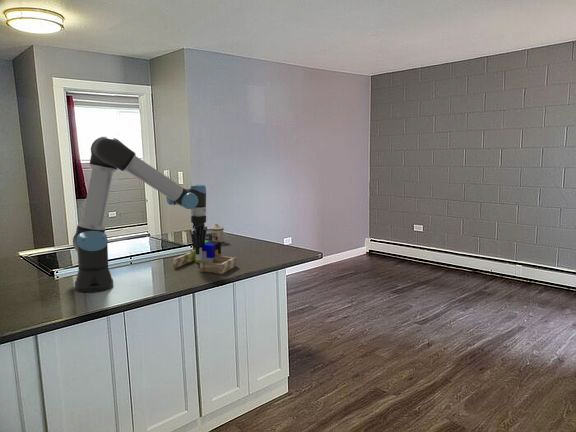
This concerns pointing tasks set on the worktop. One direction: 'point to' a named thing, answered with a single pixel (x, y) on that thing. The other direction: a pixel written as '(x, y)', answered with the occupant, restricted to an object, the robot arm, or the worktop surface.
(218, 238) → the teacup with lid
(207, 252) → the puzzle toy
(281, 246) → the worktop surface
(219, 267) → the beige low frame piece
